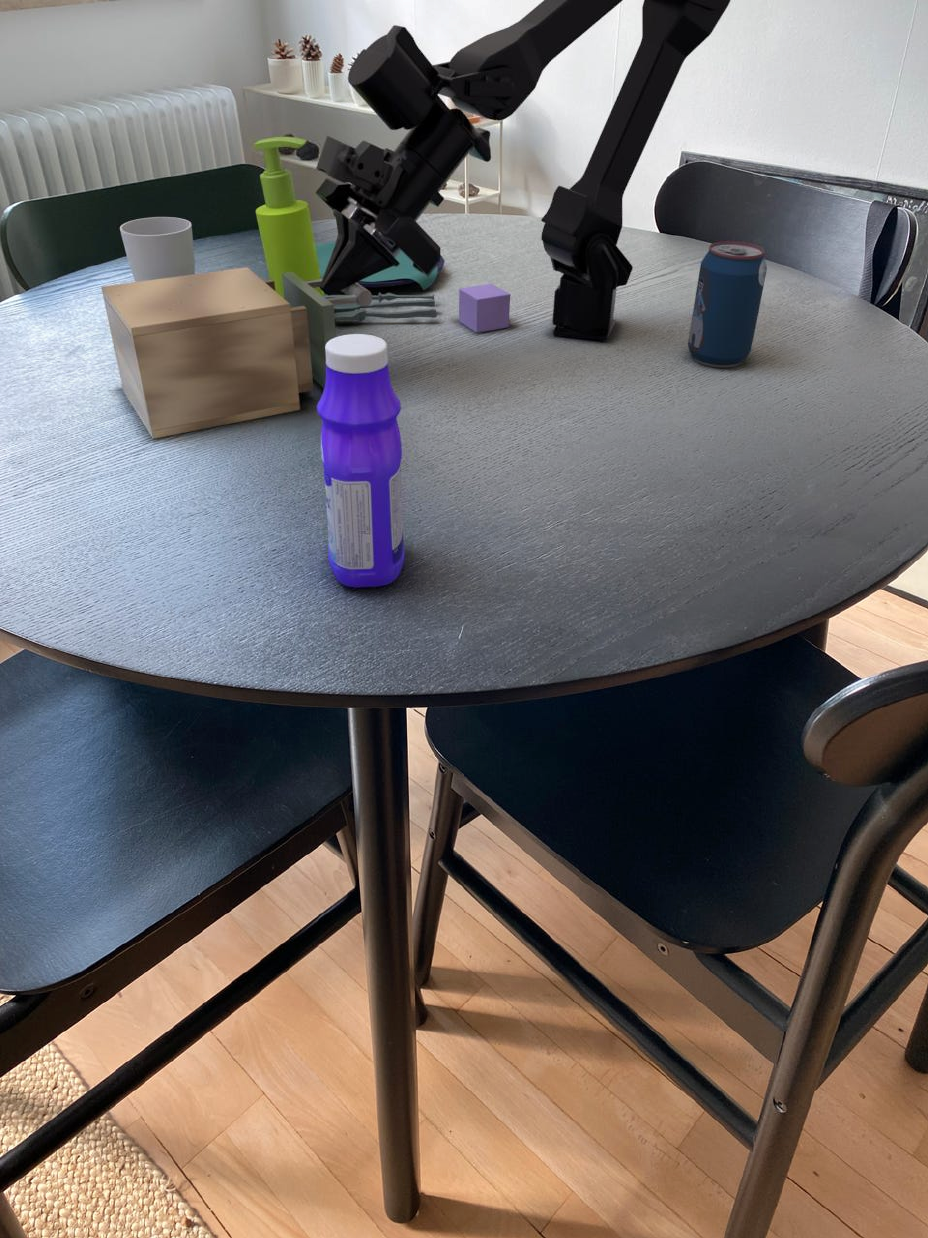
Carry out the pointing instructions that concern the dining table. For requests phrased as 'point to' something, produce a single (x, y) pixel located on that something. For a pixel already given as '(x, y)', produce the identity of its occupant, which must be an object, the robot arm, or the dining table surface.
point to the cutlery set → (383, 279)
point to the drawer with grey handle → (314, 324)
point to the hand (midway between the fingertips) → (323, 291)
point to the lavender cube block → (484, 308)
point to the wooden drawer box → (203, 350)
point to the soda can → (727, 303)
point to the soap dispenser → (285, 219)
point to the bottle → (361, 462)
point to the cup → (159, 247)
